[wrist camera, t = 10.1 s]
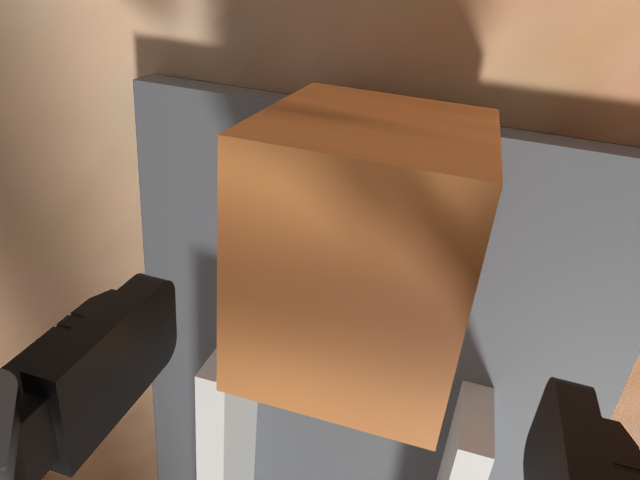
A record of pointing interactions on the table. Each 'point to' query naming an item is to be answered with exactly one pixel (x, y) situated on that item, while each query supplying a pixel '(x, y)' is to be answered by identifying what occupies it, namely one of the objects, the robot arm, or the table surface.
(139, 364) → the robot arm
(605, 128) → the table surface
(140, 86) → the channel
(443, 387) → the block
